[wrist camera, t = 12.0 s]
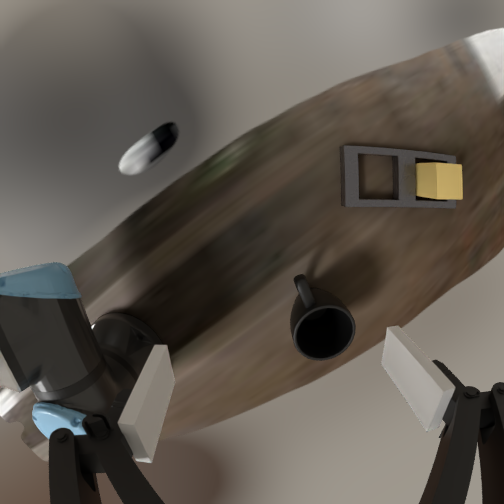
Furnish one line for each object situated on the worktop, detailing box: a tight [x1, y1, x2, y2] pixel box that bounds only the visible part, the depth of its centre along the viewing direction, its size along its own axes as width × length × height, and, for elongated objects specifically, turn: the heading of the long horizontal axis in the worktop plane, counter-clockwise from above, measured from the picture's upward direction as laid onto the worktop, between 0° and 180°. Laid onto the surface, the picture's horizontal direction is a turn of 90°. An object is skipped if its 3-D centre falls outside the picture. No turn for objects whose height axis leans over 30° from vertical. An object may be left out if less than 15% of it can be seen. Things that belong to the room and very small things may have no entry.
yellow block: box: [415, 163, 463, 199], centre depth 37 cm, size 5×5×7 cm
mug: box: [290, 274, 356, 361], centre depth 40 cm, size 8×12×10 cm
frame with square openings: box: [340, 146, 456, 208], centre depth 39 cm, size 20×8×2 cm, turn 92°
